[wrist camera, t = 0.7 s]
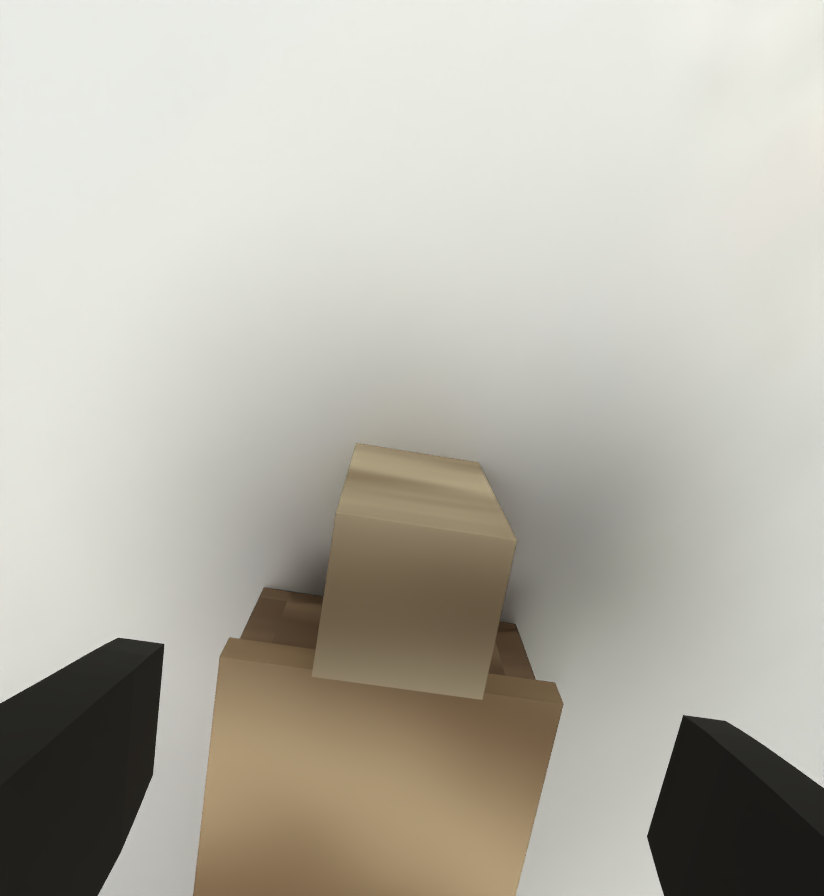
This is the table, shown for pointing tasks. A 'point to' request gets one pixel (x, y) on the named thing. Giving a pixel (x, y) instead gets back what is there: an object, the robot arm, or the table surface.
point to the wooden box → (299, 619)
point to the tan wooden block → (414, 575)
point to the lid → (367, 782)
